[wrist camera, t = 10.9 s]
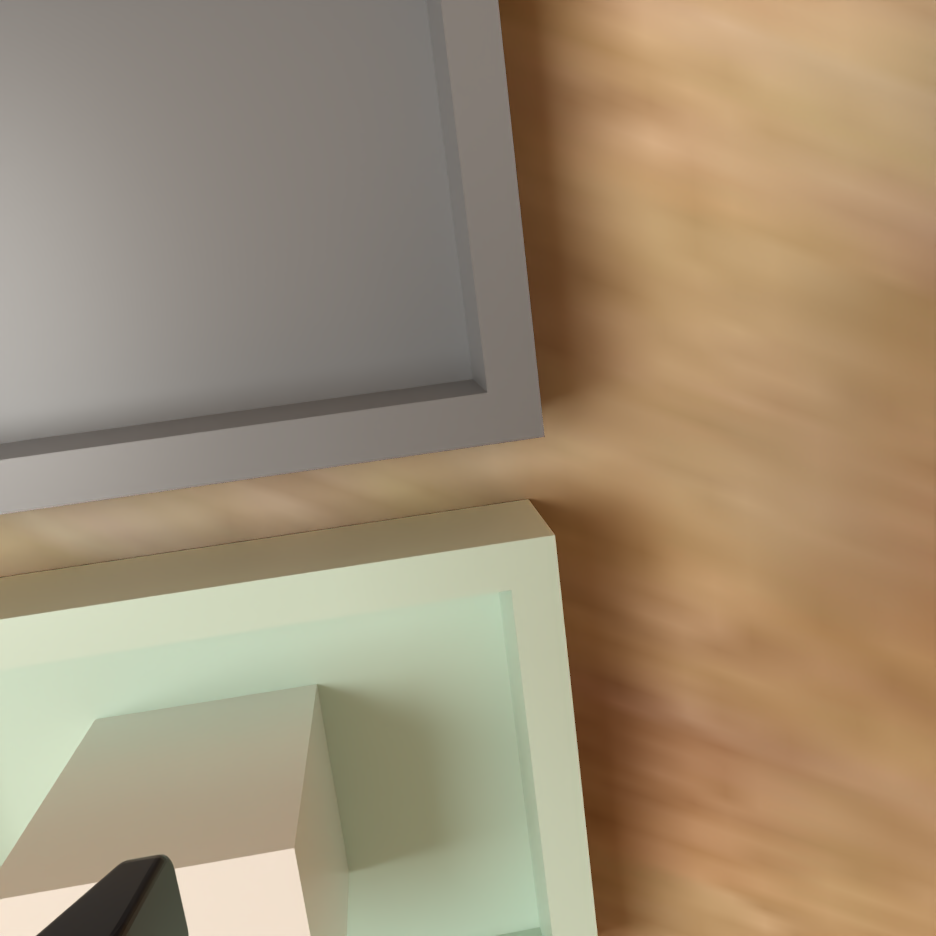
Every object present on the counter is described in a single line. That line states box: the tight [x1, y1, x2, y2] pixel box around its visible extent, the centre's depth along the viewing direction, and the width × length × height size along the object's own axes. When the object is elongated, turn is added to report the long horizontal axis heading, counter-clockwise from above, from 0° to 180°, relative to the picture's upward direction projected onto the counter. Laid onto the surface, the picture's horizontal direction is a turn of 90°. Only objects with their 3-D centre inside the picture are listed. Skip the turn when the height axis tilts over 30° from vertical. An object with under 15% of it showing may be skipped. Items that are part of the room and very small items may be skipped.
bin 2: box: [0, 499, 598, 936], centre depth 19 cm, size 16×12×3 cm
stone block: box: [0, 684, 349, 936], centre depth 17 cm, size 5×5×6 cm
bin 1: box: [0, 0, 545, 514], centre depth 16 cm, size 16×12×3 cm
